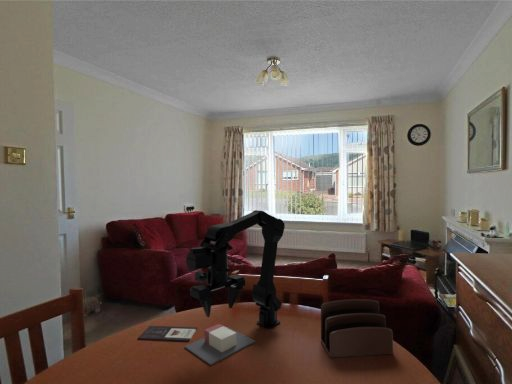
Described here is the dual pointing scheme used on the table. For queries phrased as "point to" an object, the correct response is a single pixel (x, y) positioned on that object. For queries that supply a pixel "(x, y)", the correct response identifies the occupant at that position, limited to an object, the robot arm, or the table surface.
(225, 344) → the card box
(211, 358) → the mat
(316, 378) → the table surface
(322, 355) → the table surface
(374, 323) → the letter holder
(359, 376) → the table surface
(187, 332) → the chocolate bar
